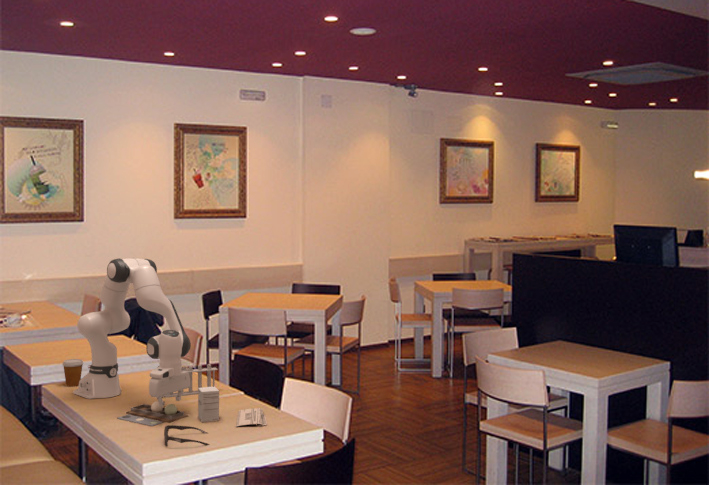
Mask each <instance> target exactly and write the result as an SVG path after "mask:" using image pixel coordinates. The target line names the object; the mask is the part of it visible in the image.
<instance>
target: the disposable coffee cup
mask: <svg viewBox="0 0 709 485" xmlns="http://www.w3.org/2000/svg"><path fill="white" fill-rule="evenodd" d="M62 362H63V363H62V367H63V373H64V379H65V386H66V387H68V388H69V387H70V388H71V387H79V381H80V380H81V379H82V372H83V365H84V360H83V359H82V358H81V359H80V358H71V359H70V358H69V359H65V360H63V361H62Z"/></svg>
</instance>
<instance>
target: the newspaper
mask: <svg viewBox="0 0 709 485" xmlns="http://www.w3.org/2000/svg"><path fill="white" fill-rule="evenodd" d="M256 424H257V426H256V428H257V427H258V428H260V427H262V426H267V425H268V424H267V418H266V414H264V409H263V408H260V407H258V408H246V409H240V410H238V411H237V418H236V425H235V427H236V428H238V427H241V426H247V425H256Z"/></svg>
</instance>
